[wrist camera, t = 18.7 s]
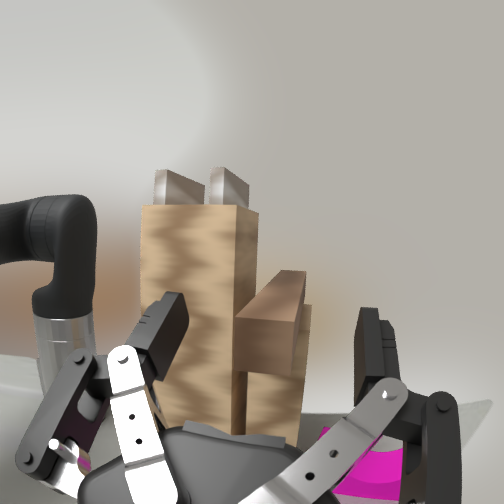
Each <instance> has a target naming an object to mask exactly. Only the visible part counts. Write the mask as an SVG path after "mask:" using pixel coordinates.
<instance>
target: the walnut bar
mask: <svg viewBox="0 0 504 504" xmlns="http://www.w3.org/2000/svg"><path fill="white" fill-rule="evenodd" d="M305 284H306V271H290V270H281V271H280V272H279V273H278V274H277V275H276V276H275V277H274V278H273V279H272V280H271V281H270V282H269V283H268V284H267V285H266V286H265V287H264V288H263V289H262V290H261V291H260V292H259V293H258V294H257V295H256V296H255V297H254V298H253V299H252V300H251V301H250V302H249V303H248V304H247V305H246V306H245V307H244V308H243V309H242V310H241V311H240V312H239V313H238V314H237V315H236V316H235V329H234V370H236V371H244V372H253V373H262V374H272V375H282V376H290V374H291V369H292V364H293V359H294V353H295V348H296V343H297V338H298V332H299V327H300V321H301V316H302V310H303V304H304V297H305Z"/></svg>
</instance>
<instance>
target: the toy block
mask: <svg viewBox="0 0 504 504" xmlns="http://www.w3.org/2000/svg"><path fill="white" fill-rule="evenodd" d="M330 429H331V428H328V427H324V428H323V430H322V432H321V434H320V437H319V439H320V438H321V437H322V436H323V435H324V434H325V433H326V432H327V431H328V430H330ZM319 439H318V440H319ZM402 456H403V448H402V449H399V450H395V451H391V452H374V451H369V452H368V454H367V455H366V456H365V457H364V458H363V459H362V460H361V461H360V463H359V464H358V465H357V466H356V467H355V468H354V469H353V471H352V472H351V473H350V474H349V475H348V476H347V477H346V478H345V479H344V480H343V481H342V482H341V483H340V484H339V485H338V486H337V487H336V488H335V489H334V490H333V491H332V492H333V493H336V494H342V495H349V496H356V497H364V498H373V499H383V500H396V501H399V495H400V485H401V472H402Z"/></svg>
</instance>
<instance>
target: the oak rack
mask: <svg viewBox="0 0 504 504" xmlns="http://www.w3.org/2000/svg"><path fill="white" fill-rule="evenodd" d="M204 190H205V185H202V184H200V183H198V182H195V181H193V180H191V179H188V178H186V177H184V176H181V175H179V174H177V173H174V172H172V171H170V170H156V172H155V186H154V202H153V205H143V206H142V222H141V224H142V225H141V317H143V314H144V312H145V311H146V309H147V307H148V306H150V305H151V304H152V303H153V302H155V301H160V300H161V298H162V297H163V295H164V293H165V292H166V291H171V292H179V293H183V295H184V298H185V302H186V306H187V310H188V313H189V319H190V320H189V327H188V329H187V332H186V334H185V336H184V338H183V340H182V342H181V344H180V346H179V348H178V351H177V353H176V355H175V357H174V359H173V361H172V363H171V366H170V368H169V370H168V372H167V374H166V376H165V378H164V381H163V382H162V381H157V380H154V382H153V385H154V388H155V391H156V394H157V397H158V400H159V403H160V406H161V409H162V412H163V415H164V418H165V420H166V422H167V424H168V426H169V428H171V427H175V426H184V423H185V421H186V420H189V421H193V422H198V423H202V424H207V425H210V426H212V427H214V428H217V429H219V430H221V431H223V432H225V433H228V434H230V435H234V436H236V435H252V434H265V435H272V436H281V437H286V443H287V444H289V445H292V446H294V447H296V446H297V439H298V432H299V424H300V417H301V409H302V401H303V392H304V383H305V374H306V365H307V355H308V344H309V333H310V322H311V308H312V305H307V304H303V310H302V316H301V321H300V327H299V332H298V338H297V343H296V348H295V353H294V359H293V364H292V369H291V374H290V376H282V375H272V374H262V373H253V372H244V371H236V370H234V329H235V316H236V315H237V314H238V313H239V312H240V311H241V310H242V309H243V308H244V307H245V306H246V305H247V304H248V303H249V302H250V301H251V300H252V299H253V298H254V297H255V292H256V291H255V290H256V266H257V242H258V216H259V213H257V212H254V211H251V210H249V209H248V204H249V185H248V184H247V183H246V182H244V181H243V180H241V179H240V178H239V177H237V176H236V175H235V174H233V173H232V172H230V171H229V170H228V169H226V168H225V167H212V168H211V176H210V196H209V205H204Z"/></svg>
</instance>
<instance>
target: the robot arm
mask: <svg viewBox="0 0 504 504" xmlns="http://www.w3.org/2000/svg"><path fill="white" fill-rule="evenodd" d="M96 247H97V218H96V213H95V209H94V207H93V204H92V203H91V201H90V200H89V199H88V198H87V197H85V196H83V195H75V194H74V195H57V196H56V195H55V196H44V197H38V198H34V199H30V200H25V201H20V202H15V203H9V204H1V205H0V265H1V264H5V263H10V262H16V261H27V260H35V261H45V262H54V274H53V280H52V281H51V282H50V283H49V284H48V285H47V286H44V287H41V288H39V289H37V290H35V291H34V293H33V295H32V308H33V317H34V326H35V334H36V340H37V347H38V354H39V358H38V359H37V367H38V372H39V377H40V382H41V386H42V391H43V395H44V399H43V401H42V403H41V405H40V407H39V408H38V410H37V412H36V414H35V416H34V418H33V420H32V422H31V424H30V425H29V427H28V429H27V431H26V433H25V435H24V437H23V439H22V441H21V443H20V445H19V448H18V450H17V452H16V455H15V462H16V465H17V467H18V468H19V469H20V470H21V471H22V472H24V473H25V474H27V475H28V476H30V477H32V478H33V479H35V480H37V481H38V482H40V483H42V484H43V485H45V486H47V487H49V488H50V489H52V490H54V491H56V492H58V493H60V494H68V495H70V496H72V497H74V498H76V499H77V502H78V504H340V502H339V501H338V500H337V498H336V497H335V495H334V494H333V492H332V491H333V490H334V489H335V488H336V487H337V486H338V485H339V484H340V483H341V482H342V481H343V480H344V479H345V478H346V477H347V476H348V475H349V474H350V473H351V472H352V471H353V469H354V468H355V467H356V466H357V465H358V464H359V463H360V461H361V460H362V459H363V458H364V457H365V456H366V455H367V454H368V452H369V451H370V450H371V449H372V448H373V447H374V445H375V444H376V443H377V442H378V441H379V440H380V438H381V437H382V436H383V435H385V436H389V437H392V438H395V439H399V440H402V441H403V456H402V472H401V485H400V495H399V504H461V496H462V494H461V493H462V462H461V440H460V426H459V415H458V406H457V402H456V400H455V399H454V397H453V396H452V395H451V394H449V393H447V392H443V391H439V392H435V393H433V394H432V395H430V396H429V397H427V396H424V395H420V394H417V393H414V392H412V391H410V390H408V389H407V387H406V385H405V384H404V383H403V382H402V381H401V379H400V372H399V363H398V355H397V349H396V341H395V334H394V329H393V327H392V326H391V324H390V323H389V321H388V320H379V314H378V308H368V307H361V308H360V312H359V317H358V321H357V326H356V330H355V336H354V407H355V408H354V409H353V410H352V412H351V413H350V414H349V415H348V416H346V417H343V418H341V419H340V420H339V421H338V422H337V423H336V424H335V425H334V426H333V427H332V428H331V429H330V430H328V431H327V432H326V433H325V434H324V435H323V436H322V437H321V438H320V439H319V440H318V441H317V442H316V443H315V444H314V445H313V446H312V447H310V448H309V449H308V450H307V451H306V452H305V453H303V452H302V451H301V450H299V449H298V448H296V447H294V446H292V445H289V444H287V443H286V437H281V436H272V435H265V434H252V435H236V436H234V435H230V434H228V433H225V432H223V431H221V430H219V429H217V428H214V427H212V426H210V425H207V424H202V423H198V422H193V421H189V420H186V421H185V423H184V426H175V427H171V428H169V426H168V424H167V422H166V420H165V418H164V415H163V412H162V409H161V406H160V403H159V400H158V397H157V394H156V391H155V388H154V385H153V382H154V380H157V381H162V382H163V381H164V378H165V376H166V374H167V372H168V370H169V368H170V366H171V363H172V361H173V359H174V357H175V355H176V353H177V351H178V348H179V346H180V344H181V342H182V340H183V338H184V336H185V334H186V332H187V329H188V327H189V320H190V319H189V313H188V310H187V306H186V302H185V298H184V295H183V293H179V292H171V291H166V292H165V293H164V295H163V297H162V298H161V300H160V301H155V302H153V303H152V304H151V305H150V306H148V307H147V309H146V311H145V312H144V314H143V317H141V319H140V320H139V323H137V325H136V327H135V328H134V330H133V332H132V333H131V335H130V337H129V338H128V340H127V341H126V343H125V345H124V346H120V347H117V348H115V349H114V350H113V351H112V352H111V353H110V354H109V355H97V353H96V344H95V335H94V322H93V309H92V299H93V294H94V288H95V262H96ZM110 402H111V407H112V411H113V416H114V421H115V425H116V430H117V434H118V438H119V442H120V446H121V450H122V455H120V456H118V457H117V458H115V459H113V460H111V461H110V462H108V463H106V464H104V465H102V466H101V467H99V468H97V469H95V470H93V471H91V466H90V457H89V455H88V452H89V450H90V448H91V445H92V443H93V441H94V438H95V436H96V434H97V431H98V429H99V427H100V425H101V422H102V420H103V419H104V417H105V413H106V411H107V409H108V407H109V405H110ZM90 471H91V472H90Z"/></svg>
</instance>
